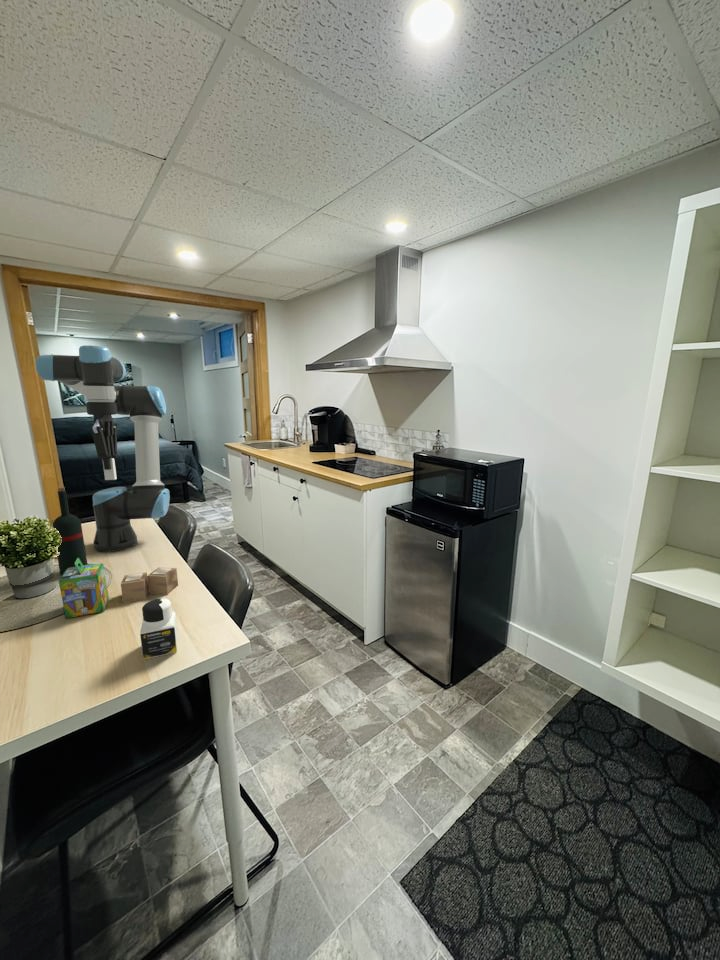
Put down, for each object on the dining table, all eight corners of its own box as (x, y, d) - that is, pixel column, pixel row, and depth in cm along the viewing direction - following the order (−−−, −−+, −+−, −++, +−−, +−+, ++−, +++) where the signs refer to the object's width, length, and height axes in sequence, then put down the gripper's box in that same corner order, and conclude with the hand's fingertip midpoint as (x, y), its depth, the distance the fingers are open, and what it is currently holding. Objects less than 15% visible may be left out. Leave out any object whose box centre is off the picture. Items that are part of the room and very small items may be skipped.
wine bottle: (89, 563, 141) (77, 482, 135) (87, 574, 132) (75, 488, 126) (61, 568, 137) (48, 485, 130) (58, 579, 128) (44, 491, 122)
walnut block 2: (160, 584, 126) (158, 566, 124) (178, 585, 125) (176, 567, 124) (149, 593, 120) (146, 574, 119) (167, 594, 119) (165, 575, 118)
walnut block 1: (127, 593, 120) (124, 574, 119) (148, 590, 122) (146, 571, 121) (123, 602, 115) (120, 583, 113) (145, 599, 117) (143, 579, 115)
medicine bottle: (143, 660, 90) (137, 613, 87) (146, 642, 96) (140, 598, 94) (177, 652, 92) (172, 607, 90) (177, 636, 99) (173, 593, 96)
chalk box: (103, 612, 109) (96, 563, 106) (64, 619, 106) (55, 569, 103) (109, 597, 118) (103, 551, 114) (73, 603, 114) (65, 556, 111)
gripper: (97, 400, 120) (106, 475, 125) (75, 401, 108) (87, 484, 113) (123, 400, 121) (132, 474, 126) (105, 401, 109) (115, 483, 114)
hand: (110, 479), depth 119 cm, fingers closed
